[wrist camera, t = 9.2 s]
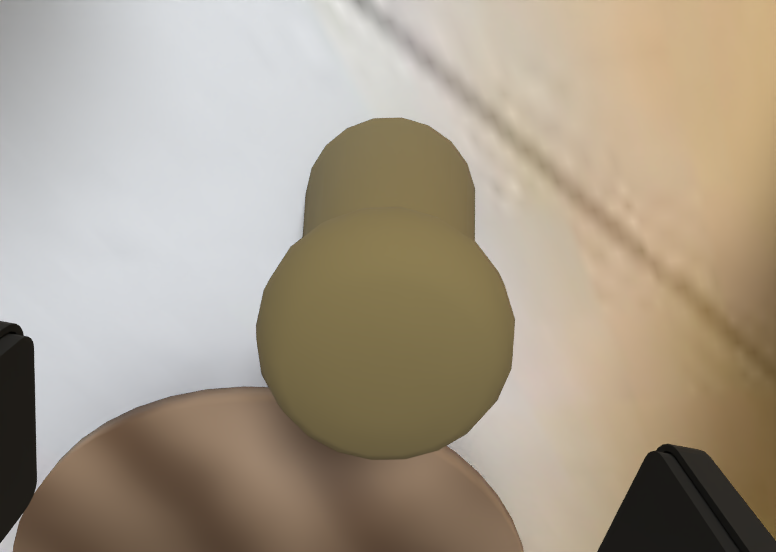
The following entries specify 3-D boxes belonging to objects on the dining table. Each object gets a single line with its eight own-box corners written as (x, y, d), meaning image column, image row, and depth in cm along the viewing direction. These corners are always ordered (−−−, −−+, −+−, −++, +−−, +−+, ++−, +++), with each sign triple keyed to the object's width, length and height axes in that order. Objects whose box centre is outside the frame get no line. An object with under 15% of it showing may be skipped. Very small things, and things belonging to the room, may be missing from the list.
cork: (459, 290, 21) (515, 524, 11) (300, 271, 21) (213, 493, 11) (490, 129, 19) (597, 244, 9) (311, 105, 19) (212, 197, 9)
